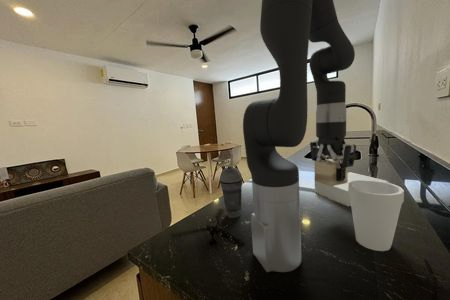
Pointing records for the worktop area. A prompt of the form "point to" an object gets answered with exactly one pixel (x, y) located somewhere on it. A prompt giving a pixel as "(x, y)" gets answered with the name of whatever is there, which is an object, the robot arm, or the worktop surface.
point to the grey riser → (341, 188)
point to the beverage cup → (231, 190)
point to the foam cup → (375, 212)
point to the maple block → (328, 172)
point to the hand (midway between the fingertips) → (330, 177)
